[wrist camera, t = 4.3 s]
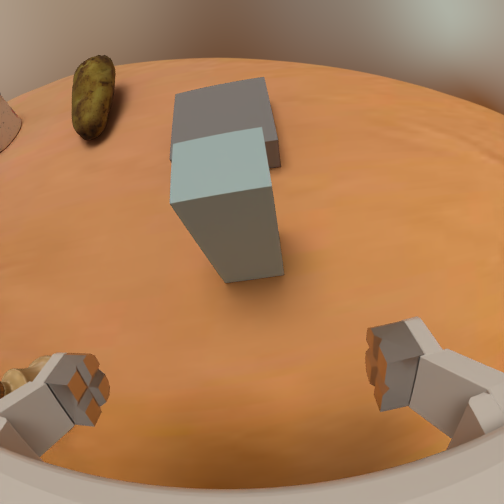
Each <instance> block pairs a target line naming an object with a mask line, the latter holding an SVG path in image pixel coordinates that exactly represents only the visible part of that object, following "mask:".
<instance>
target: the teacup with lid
mask: <svg viewBox="0 0 504 504" xmlns="http://www.w3.org/2000/svg"><path fill="white" fill-rule="evenodd" d="M20 127H21V119H20V118H19V117H18V115H17V114H16V113H15V112H14V111H13V110H12V108H11V107H10V106H9V105H8V103H7V102H6V101H5V100H4V99H3V98H2V96H1V95H0V152H1V151H2V150H4V149H5V148H6V147H7V146H8V145H9V144H10V143H11V142H12V140H13V139H14V138H15V136H16V135H17V133H18V132H19V130H20Z"/></svg>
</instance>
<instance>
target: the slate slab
mask: <svg viewBox="0 0 504 504" xmlns="http://www.w3.org/2000/svg"><path fill="white" fill-rule="evenodd" d="M258 127H262V131H263V136H264V142H265V148H266V154H267V160H268V166H269V168H275V167H281V164H280V154H279V145H278V138H277V133H276V128H275V124H274V119H273V114H272V110H271V105H270V101H269V96H268V92H267V88H266V83H265V79H264V77H260V78H254V79H247V80H241V81H236V82H230V83H225V84H220V85H215V86H210V87H205V88H200V89H196V90H191V91H187V92H183V93H179V94H176V95H175V104H174V114H173V125H172V137H171V149H170V161H171V163H172V150H173V144H175V143H179V142H184V141H188V140H193V139H198V138H203V137H208V136H213V135H218V134H223V133H229V132H234V131H240V130H246V129H252V128H258Z"/></svg>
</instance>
